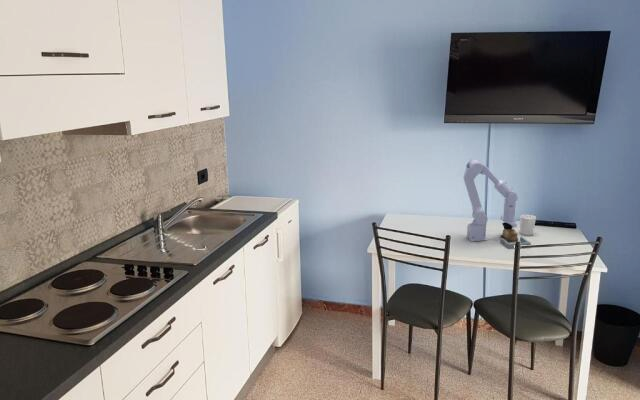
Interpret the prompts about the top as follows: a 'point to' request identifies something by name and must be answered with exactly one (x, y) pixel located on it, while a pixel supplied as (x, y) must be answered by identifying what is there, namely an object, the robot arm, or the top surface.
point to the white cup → (527, 224)
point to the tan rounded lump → (509, 235)
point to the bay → (511, 246)
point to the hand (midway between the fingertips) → (507, 235)
